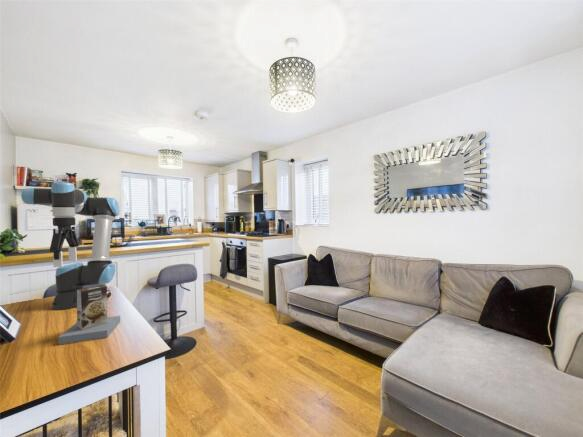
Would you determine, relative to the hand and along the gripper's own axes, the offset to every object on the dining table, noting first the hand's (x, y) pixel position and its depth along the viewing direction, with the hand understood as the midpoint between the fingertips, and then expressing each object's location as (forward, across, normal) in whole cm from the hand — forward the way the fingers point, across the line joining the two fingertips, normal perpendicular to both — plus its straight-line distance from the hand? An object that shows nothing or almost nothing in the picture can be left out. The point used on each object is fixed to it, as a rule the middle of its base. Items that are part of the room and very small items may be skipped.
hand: (65, 263), depth 111 cm
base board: (+29, +12, +13) cm, 33 cm away
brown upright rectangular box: (+26, +11, +13) cm, 31 cm away
